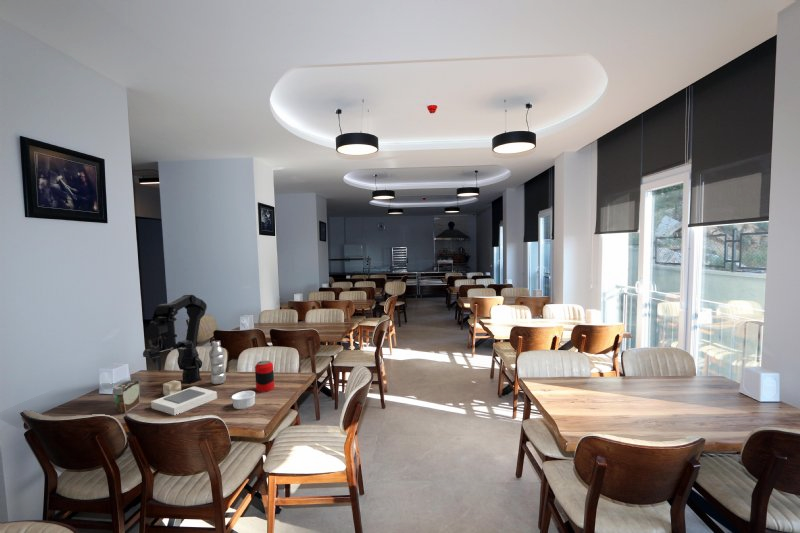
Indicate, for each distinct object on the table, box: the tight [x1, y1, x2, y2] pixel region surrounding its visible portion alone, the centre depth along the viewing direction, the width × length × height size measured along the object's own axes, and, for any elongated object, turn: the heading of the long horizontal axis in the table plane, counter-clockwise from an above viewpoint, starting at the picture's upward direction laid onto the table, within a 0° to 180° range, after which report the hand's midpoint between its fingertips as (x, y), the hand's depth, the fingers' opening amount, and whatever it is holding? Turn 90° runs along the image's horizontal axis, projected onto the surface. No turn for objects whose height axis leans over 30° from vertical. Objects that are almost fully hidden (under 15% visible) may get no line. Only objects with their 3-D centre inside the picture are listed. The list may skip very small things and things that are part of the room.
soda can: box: [254, 360, 275, 393], centre depth 171 cm, size 8×8×12 cm
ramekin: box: [231, 390, 256, 410], centre depth 154 cm, size 9×9×4 cm
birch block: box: [162, 380, 182, 396], centre depth 170 cm, size 5×5×5 cm
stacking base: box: [150, 386, 218, 416], centre depth 159 cm, size 18×16×3 cm
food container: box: [112, 378, 141, 414], centre depth 155 cm, size 12×6×10 cm, turn 5°
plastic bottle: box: [208, 340, 227, 385], centre depth 180 cm, size 6×7×20 cm
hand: (170, 367), depth 170 cm, fingers open, 9 cm apart
